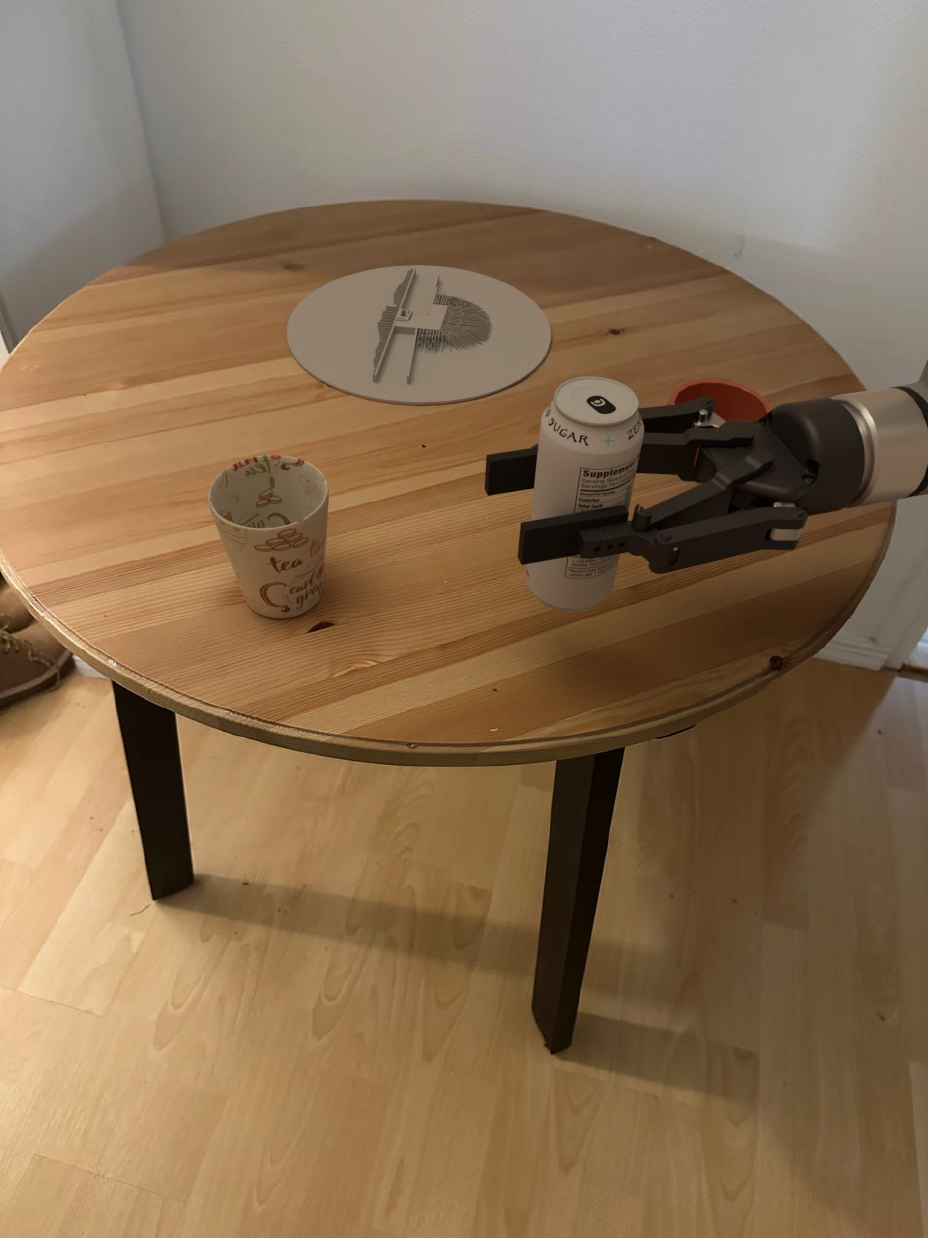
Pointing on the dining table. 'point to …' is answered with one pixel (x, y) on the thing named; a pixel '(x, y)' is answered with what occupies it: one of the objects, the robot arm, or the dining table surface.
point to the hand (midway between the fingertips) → (504, 508)
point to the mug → (273, 531)
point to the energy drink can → (583, 481)
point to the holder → (723, 399)
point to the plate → (418, 335)
